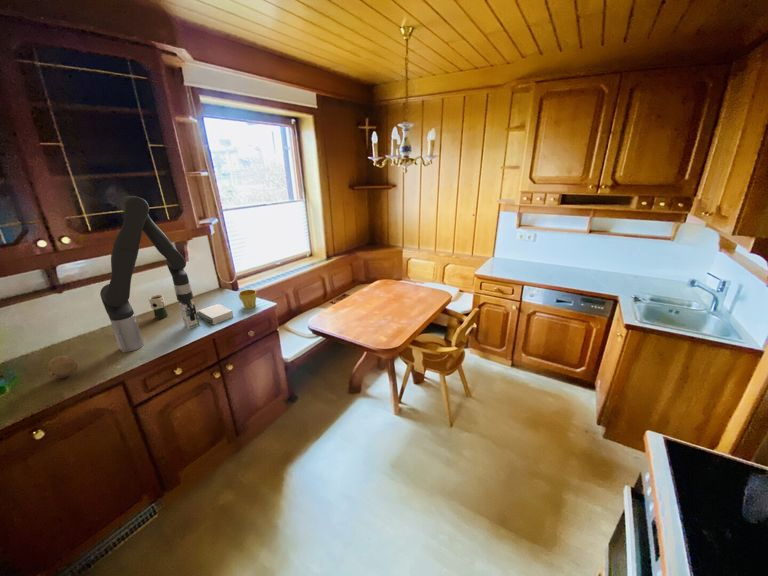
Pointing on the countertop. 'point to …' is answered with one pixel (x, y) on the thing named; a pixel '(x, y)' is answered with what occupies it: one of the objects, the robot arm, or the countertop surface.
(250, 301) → the plant pot
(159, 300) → the character mug
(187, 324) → the syrup box
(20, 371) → the countertop surface
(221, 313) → the dock
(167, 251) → the robot arm
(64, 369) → the natural sponge
